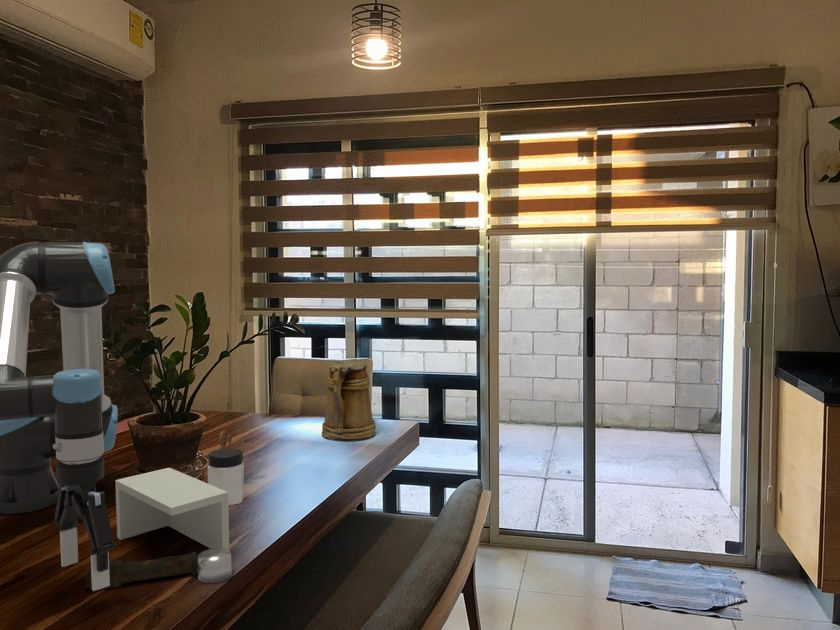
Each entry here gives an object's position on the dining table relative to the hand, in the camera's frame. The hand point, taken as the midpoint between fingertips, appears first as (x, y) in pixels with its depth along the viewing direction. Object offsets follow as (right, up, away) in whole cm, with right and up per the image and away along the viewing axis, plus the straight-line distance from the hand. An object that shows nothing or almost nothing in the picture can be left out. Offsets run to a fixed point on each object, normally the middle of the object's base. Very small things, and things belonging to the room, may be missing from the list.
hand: (84, 575), depth 122 cm
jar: (+12, +1, +46) cm, 48 cm away
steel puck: (+21, -2, +6) cm, 22 cm away
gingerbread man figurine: (+6, +2, +67) cm, 67 cm away
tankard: (+35, +5, +108) cm, 113 cm away
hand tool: (+9, -3, +4) cm, 10 cm away
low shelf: (+8, -1, +20) cm, 21 cm away
